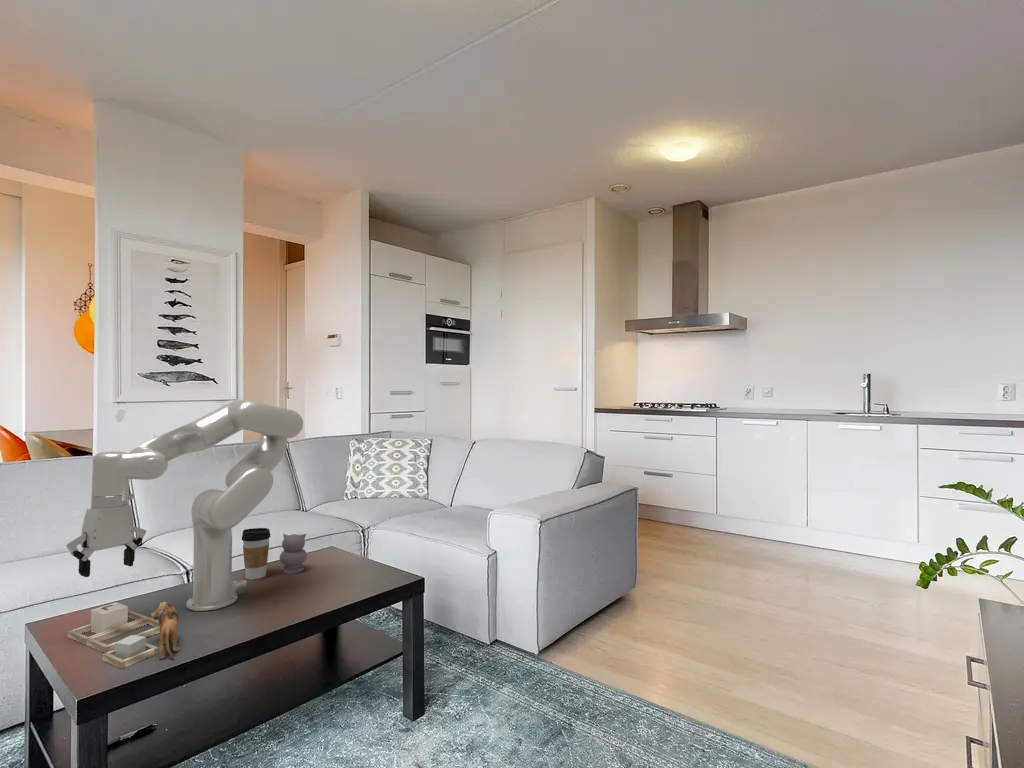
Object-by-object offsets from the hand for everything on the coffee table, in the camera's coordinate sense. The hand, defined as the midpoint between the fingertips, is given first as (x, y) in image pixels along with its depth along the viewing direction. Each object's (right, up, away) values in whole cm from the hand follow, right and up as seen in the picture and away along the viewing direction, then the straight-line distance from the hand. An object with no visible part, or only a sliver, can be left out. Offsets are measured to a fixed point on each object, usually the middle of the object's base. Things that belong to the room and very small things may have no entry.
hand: (107, 570), depth 137 cm
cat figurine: (+28, -16, +45) cm, 55 cm away
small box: (+15, -15, -13) cm, 25 cm away
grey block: (+15, -15, -13) cm, 25 cm away
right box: (0, -15, 0) cm, 15 cm away
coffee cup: (+19, -15, +39) cm, 46 cm away
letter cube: (0, -15, 0) cm, 15 cm away
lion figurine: (+20, -15, -9) cm, 27 cm away
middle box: (+8, -15, -4) cm, 17 cm away
